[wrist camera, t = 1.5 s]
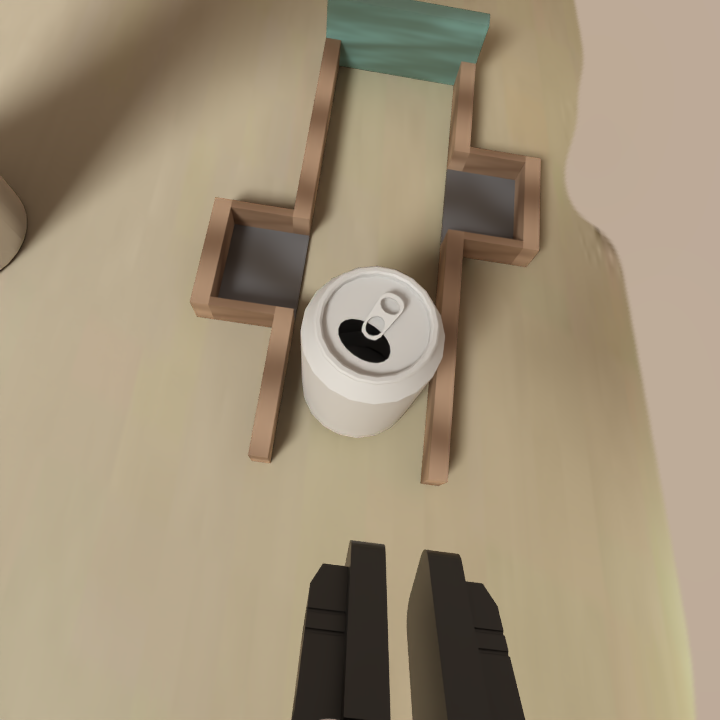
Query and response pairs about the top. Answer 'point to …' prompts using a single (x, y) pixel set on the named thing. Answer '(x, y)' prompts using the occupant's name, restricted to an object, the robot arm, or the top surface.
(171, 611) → the top surface
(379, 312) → the can
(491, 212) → the trap channel
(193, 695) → the top surface
